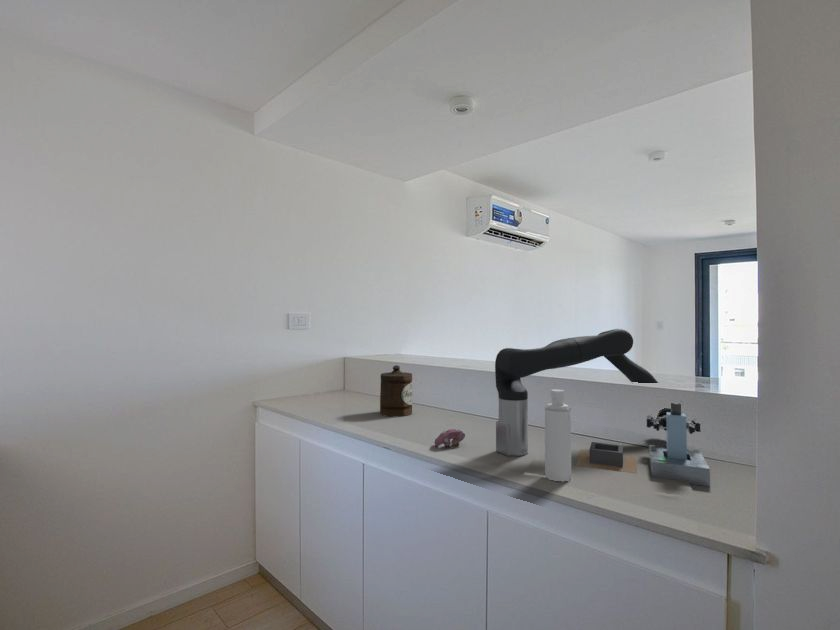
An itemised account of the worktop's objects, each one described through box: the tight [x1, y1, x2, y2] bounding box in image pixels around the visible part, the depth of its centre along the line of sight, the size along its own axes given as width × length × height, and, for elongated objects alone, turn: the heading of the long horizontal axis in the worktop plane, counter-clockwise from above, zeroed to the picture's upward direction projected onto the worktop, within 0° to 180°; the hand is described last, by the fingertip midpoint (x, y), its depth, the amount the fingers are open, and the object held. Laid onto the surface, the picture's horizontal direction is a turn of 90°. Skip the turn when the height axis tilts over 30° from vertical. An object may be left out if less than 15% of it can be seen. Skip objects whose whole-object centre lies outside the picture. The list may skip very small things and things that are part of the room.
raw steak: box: [434, 428, 466, 447], centre depth 147 cm, size 10×5×7 cm, turn 119°
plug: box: [665, 403, 688, 460], centre depth 121 cm, size 4×4×19 cm
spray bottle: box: [544, 388, 572, 483], centre depth 117 cm, size 7×7×25 cm
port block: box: [648, 444, 711, 487], centre depth 121 cm, size 18×13×5 cm
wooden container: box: [379, 365, 413, 417], centre depth 200 cm, size 15×15×22 cm
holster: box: [575, 441, 638, 474], centre depth 129 cm, size 16×16×5 cm
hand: (674, 428), depth 128 cm, fingers open, 8 cm apart
